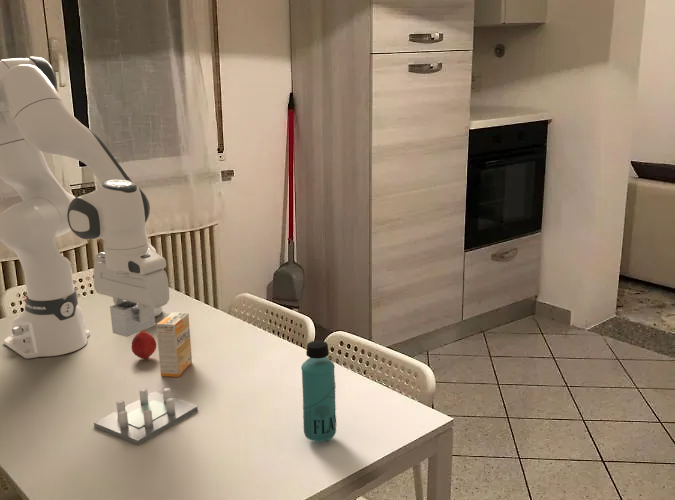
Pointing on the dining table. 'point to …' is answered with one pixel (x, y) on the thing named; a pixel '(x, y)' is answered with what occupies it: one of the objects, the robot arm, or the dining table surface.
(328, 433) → the beverage bottle
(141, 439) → the pin tray
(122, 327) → the block
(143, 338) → the onion
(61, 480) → the dining table surface
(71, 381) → the dining table surface
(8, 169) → the robot arm
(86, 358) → the dining table surface
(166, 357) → the supplement box
